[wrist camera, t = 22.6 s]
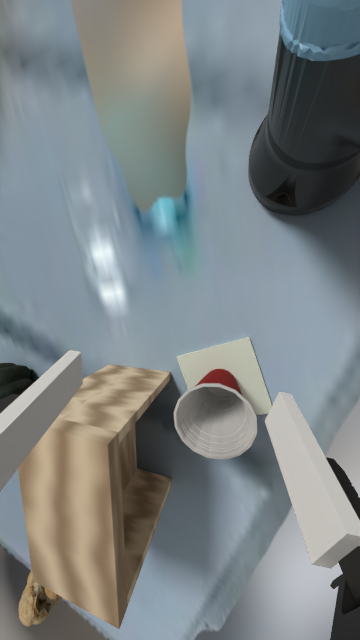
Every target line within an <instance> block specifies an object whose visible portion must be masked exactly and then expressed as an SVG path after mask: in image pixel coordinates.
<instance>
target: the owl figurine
mask: <svg viewBox="0 0 360 640" xmlns="http://www.w3.org/2000/svg"><path fill="white" fill-rule="evenodd" d="M27 583H28V584H27V586H26V588H25V590H24V591H23V594H22V597H21V600H20V602H19V618H20V621H21V622H22V623H23V624H24V625H25V626H27V627H28V626H30V625H32V624H39V623H42V622H43V620H44V619H45V618H46V617H47V616H48V614H49V612H50V611H51V609H52V608H53V605H55V604H56V603H58V601H59V600H60V599H62V597H61V596H59V595H57V594H56V593H54V592H52V591H50V590H48V589H47V588H45V587H43V586H41V585H40V584H38V583H36V582H34V580H33V573H32V570H31V572H30V575H29V577H28V581H27Z"/></svg>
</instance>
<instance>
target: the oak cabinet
mask: <svg viewBox="0 0 360 640" xmlns="http://www.w3.org/2000/svg"><path fill="white" fill-rule="evenodd" d="M170 379H171V372H165V371H157V370H149V369H141V368H133V367H125V366H117V365H107V366H106V367H104V368H102V369H100V370H99V371H97V372H95V373H93V374H91V375H90V376H88V377H86V378H84V379H83V384H82V386H81V387H80V388H79V390H78V391H77V392H76V394H75V395H74V396H73V397H72V399H71V400H70V401H69V403H68V404H67V405H66V407H65V408H64V409H63V410H62V412H61V413H60V414H59V416H58V417H57V418H56V420H55V421H54V422H53V423H52V425H51V426H50V427H49V429H48V430H47V431H46V433H45V434H44V435H43V436H42V438H41V439H40V440H39V442H38V443H37V444H36V446H35V447H34V448H33V449H32V451H31V452H30V453H29V455H28V456H27V457H26V459H25V460H24V461H23V462H22V464H21V465H20V466H19V468H18V472H19V479H20V487H21V494H22V501H23V508H24V515H25V523H26V530H27V537H28V544H29V551H30V559H31V566H32V573H33V580H34V582H36V583H38V584H40V585H41V586H43V587H45V588H47V589H48V590H50V591H52V592H54V593H56V594H57V595H59V596H61V597H63V598H64V599H66V600H68V601H70V602H72V603H73V604H75V605H77V606H79V607H81V608H82V609H84V610H86V611H88V612H89V613H91V614H93V615H95V616H97V617H98V618H100V619H102V620H104V621H105V622H107V623H109V624H111V625H113V626H114V627H116V628H118V629H119V628H120V625H121V623H122V620H123V617H124V614H125V612H126V609H127V606H128V603H129V601H130V598H131V595H132V592H133V590H134V587H135V584H136V581H137V579H138V576H139V573H140V570H141V567H142V565H143V562H144V559H145V556H146V554H147V551H148V548H149V545H150V543H151V540H152V537H153V534H154V532H155V529H156V526H157V523H158V521H159V518H160V515H161V512H162V509H163V507H164V504H165V501H166V498H167V496H168V493H169V490H170V487H171V485H172V478H169V477H166V476H162V475H158V474H155V473H151V472H148V471H144V470H141V469H137V456H136V431H135V423H136V422H137V421H138V419H139V418H140V417H141V416H142V414H143V413H144V412H145V411H146V409H147V408H148V407H149V406H150V404H151V403H152V402H153V401H154V399H155V398H156V397H157V396H158V394H159V393H160V392H161V391H162V389H163V388H164V387H165V386H166V384H167V383H168V382H169V381H170Z"/></svg>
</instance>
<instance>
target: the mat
mask: <svg viewBox="0 0 360 640" xmlns="http://www.w3.org/2000/svg"><path fill="white" fill-rule="evenodd" d="M177 360H178V363H179V365H180V368H181V371H182V374H183V377H184V380H185V382H186V385H187V388H188V389H189V388H192V387H194V386H195V385H196V384H198V383H199V381H200V380H201V379H202V378H203V377H204V376H205V375H207V374H208V373H209V372H210V371H212V370H215V369H224V370H227V371H229V372H230V373H231V374H232V375H233V376H234V377H235V379H236V381H237V383H238V386H239V388H240V391H241V393H242V396H243V397H244V398H245V399H246V400H247V401H248V402H249V403H250V405H251V407H252V409H253V411H254V413H255V415H262V414H268V413H269V411H270V409H271V407H272V403H271V401H270V398H269V395H268V392H267V389H266V386H265V383H264V380H263V377H262V374H261V371H260V368H259V365H258V362H257V359H256V356H255V353H254V350H253V347H252V344H251V341H250V338H249V337H246V338H243V339H239V340H235V341H231V342H228V343H224V344H220V345H217V346H213V347H209V348H206V349H202V350H198V351H194V352H191V353H187V354H183V355H180V356H177Z"/></svg>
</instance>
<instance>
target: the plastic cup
mask: <svg viewBox="0 0 360 640" xmlns="http://www.w3.org/2000/svg"><path fill="white" fill-rule="evenodd" d="M174 423H175V428H176V430H177V432H178V434H179V436H180V438H181V440H182V441H183V442H184V443H185V444H186V445H187V446H188V447H189V448H190V449H191V450H193V451H194V452H196V453H198V454H200V455H202V456H205V457H207V458H212V459H222V460H225V459H229V458H233V457H237V456H240V455H241V454H242V453H244V452H245V451H246V450H247V449H248V448H250V447H251V446H252V443H253V441H254V439H255V437H256V435H257V417H256V415H255V413H254V411H253V409H252V407H251V405H250V403H249V402H248V401H247V400H246V399H245V398H244V397H243V396H242V393H241V391H240V388H239V386H238V383H237V381H236V379H235V377H234V376H233V375H232V374H231V373H230V372H229V371H227V370H224V369H215V370H212V371H210V372H209V373H208V374H207V375H205V376H204V377H203V378H202V379H201V380H200V381H199V383H198V384H196V385H195V386H194V387H192V388H189V389H188V390H187V391H186V392H185V393H184V394H183V395H182V396H181V397H180V398H179V399H178V401H177V404H176V407H175V410H174Z"/></svg>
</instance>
